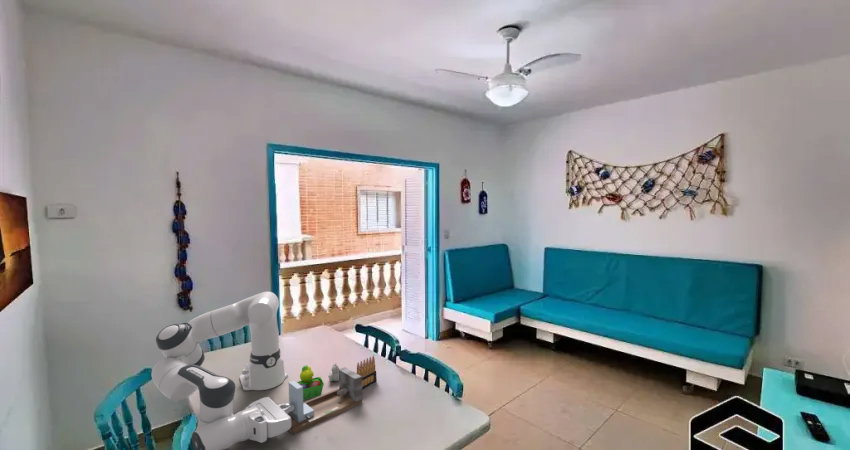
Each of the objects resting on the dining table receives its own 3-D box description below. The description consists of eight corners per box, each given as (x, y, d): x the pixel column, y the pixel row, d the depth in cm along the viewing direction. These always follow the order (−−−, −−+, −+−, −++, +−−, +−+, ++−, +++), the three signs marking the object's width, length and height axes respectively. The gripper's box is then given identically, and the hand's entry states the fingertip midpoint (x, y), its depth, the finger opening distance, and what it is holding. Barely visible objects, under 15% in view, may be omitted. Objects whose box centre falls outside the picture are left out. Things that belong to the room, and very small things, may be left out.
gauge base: (278, 419, 132) (277, 391, 132) (345, 392, 152) (345, 367, 151) (293, 434, 124) (292, 403, 123) (362, 402, 143) (361, 376, 143)
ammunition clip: (358, 392, 152) (358, 363, 151) (355, 390, 153) (354, 362, 152) (376, 382, 160) (376, 355, 160) (373, 380, 161) (373, 354, 161)
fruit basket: (295, 403, 143) (294, 375, 143) (292, 393, 151) (291, 366, 151) (324, 396, 148) (324, 369, 148) (320, 387, 156) (319, 361, 156)
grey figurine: (344, 379, 163) (344, 361, 163) (333, 385, 158) (333, 367, 157) (335, 376, 166) (335, 359, 166) (324, 382, 160) (324, 364, 160)
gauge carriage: (289, 414, 132) (288, 382, 132) (305, 408, 137) (304, 376, 136) (301, 425, 126) (300, 391, 125) (317, 418, 130) (316, 385, 129)
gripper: (241, 418, 127) (280, 403, 137) (263, 445, 113) (306, 426, 122) (240, 401, 127) (280, 387, 137) (263, 425, 112) (305, 408, 122)
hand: (292, 405), depth 129 cm, fingers closed
